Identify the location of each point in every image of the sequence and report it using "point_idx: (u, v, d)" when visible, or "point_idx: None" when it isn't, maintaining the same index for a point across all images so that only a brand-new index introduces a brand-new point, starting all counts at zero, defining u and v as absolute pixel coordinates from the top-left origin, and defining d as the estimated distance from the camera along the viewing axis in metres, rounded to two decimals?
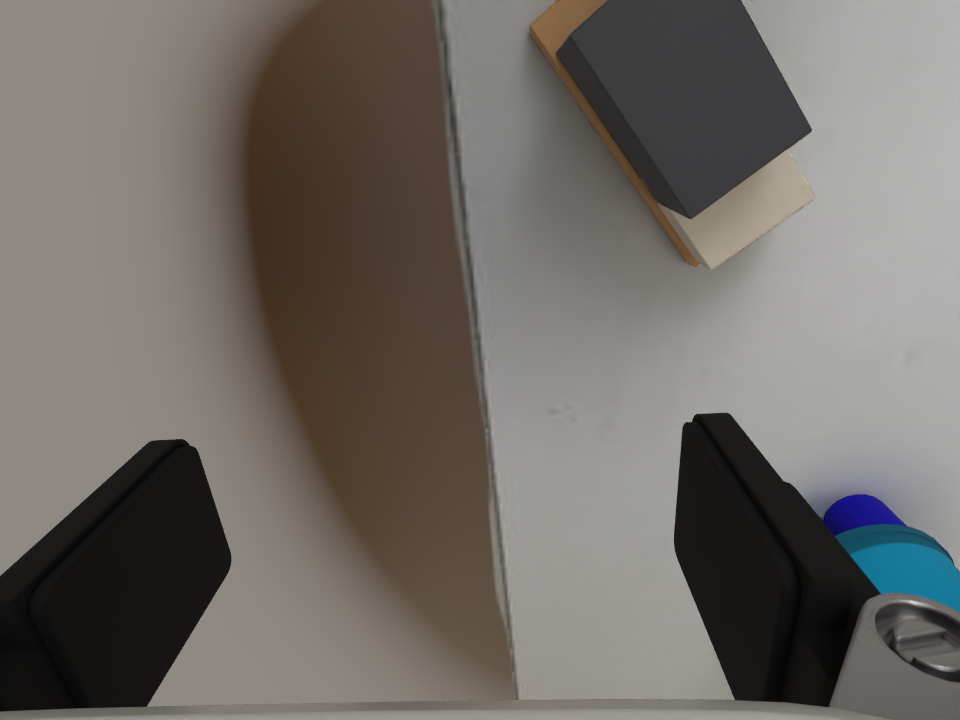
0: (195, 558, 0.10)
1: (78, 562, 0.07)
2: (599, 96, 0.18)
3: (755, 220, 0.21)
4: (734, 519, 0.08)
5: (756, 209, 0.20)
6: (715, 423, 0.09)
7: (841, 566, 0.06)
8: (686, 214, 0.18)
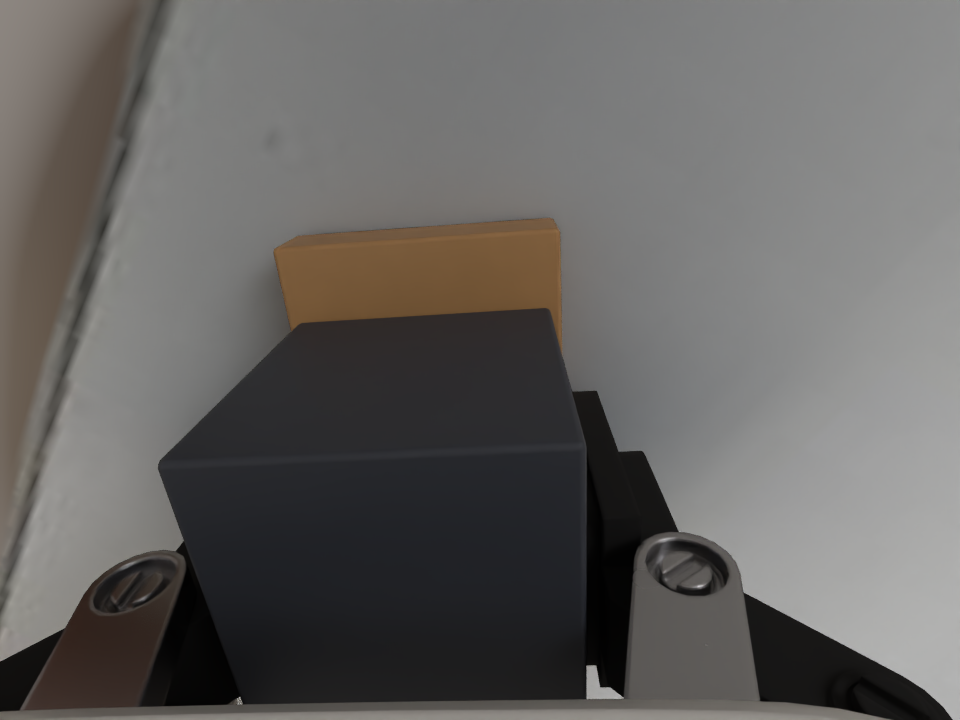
0: None
1: None
2: None
3: None
4: None
5: None
6: (580, 399, 0.10)
7: (631, 510, 0.07)
8: None
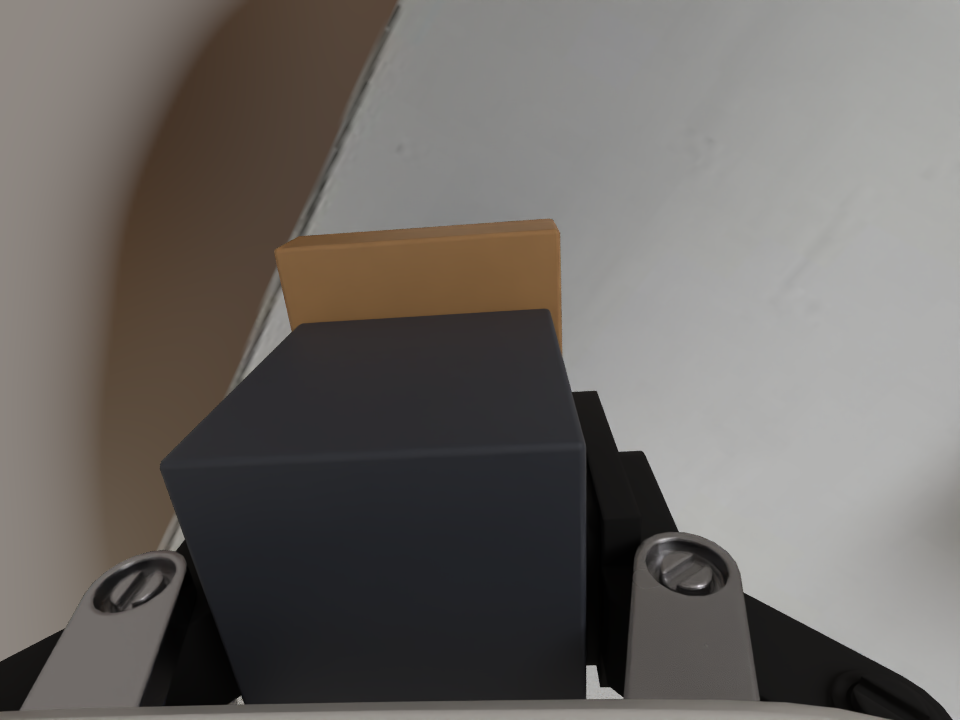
0: None
1: None
2: None
3: None
4: None
5: None
6: (580, 399, 0.10)
7: (632, 510, 0.07)
8: None
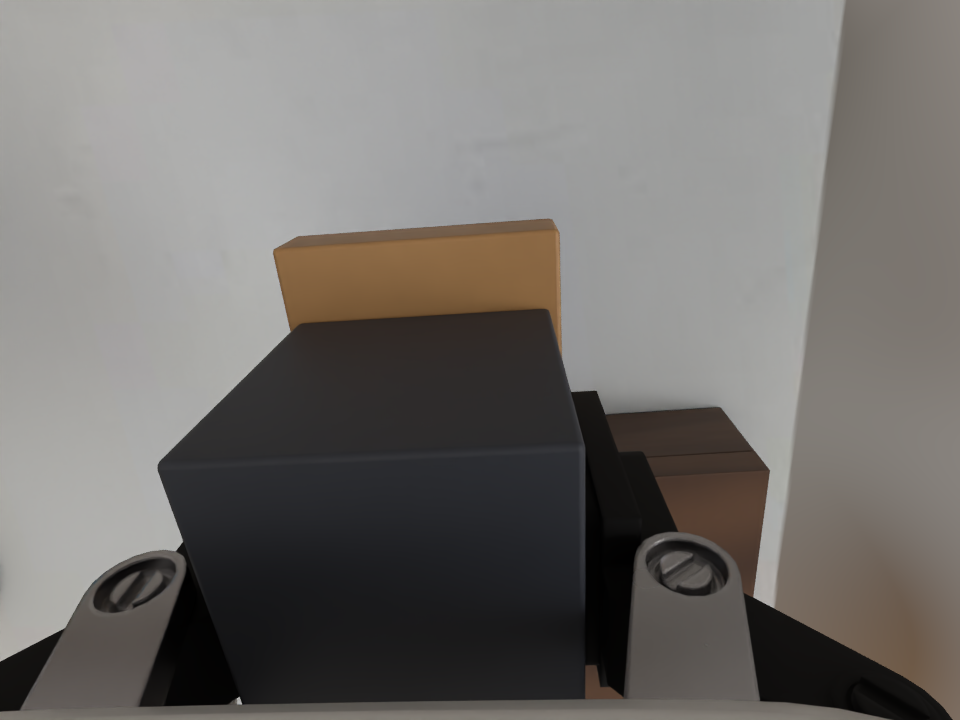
0: None
1: None
2: None
3: None
4: None
5: None
6: (580, 399, 0.10)
7: (632, 509, 0.07)
8: None
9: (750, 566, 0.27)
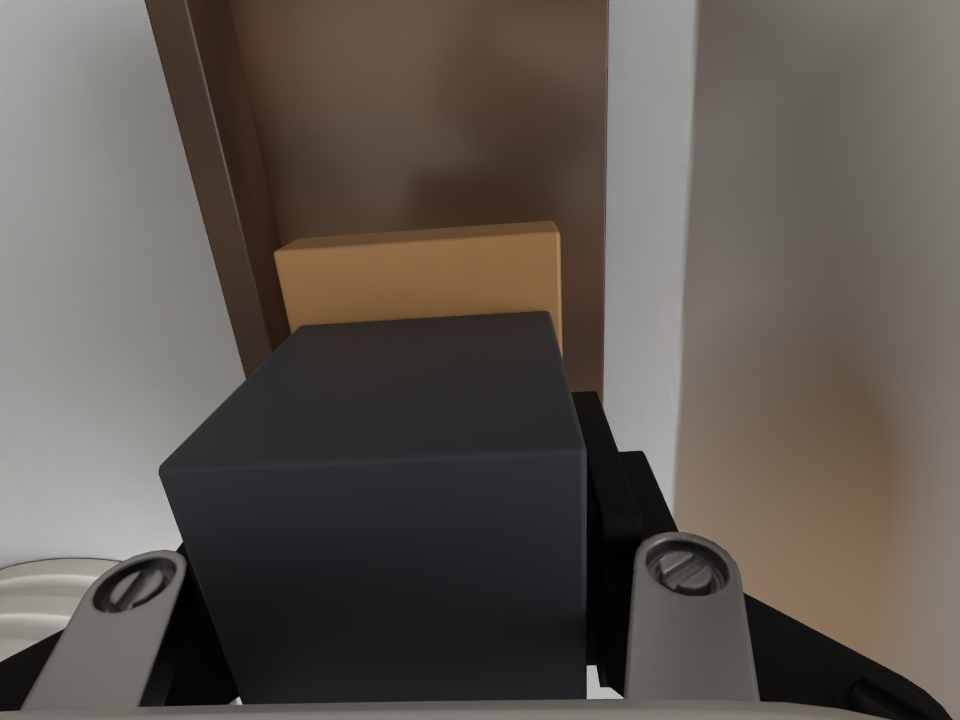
0: None
1: None
2: None
3: None
4: None
5: None
6: (580, 399, 0.10)
7: (632, 509, 0.07)
8: None
9: (594, 152, 0.16)
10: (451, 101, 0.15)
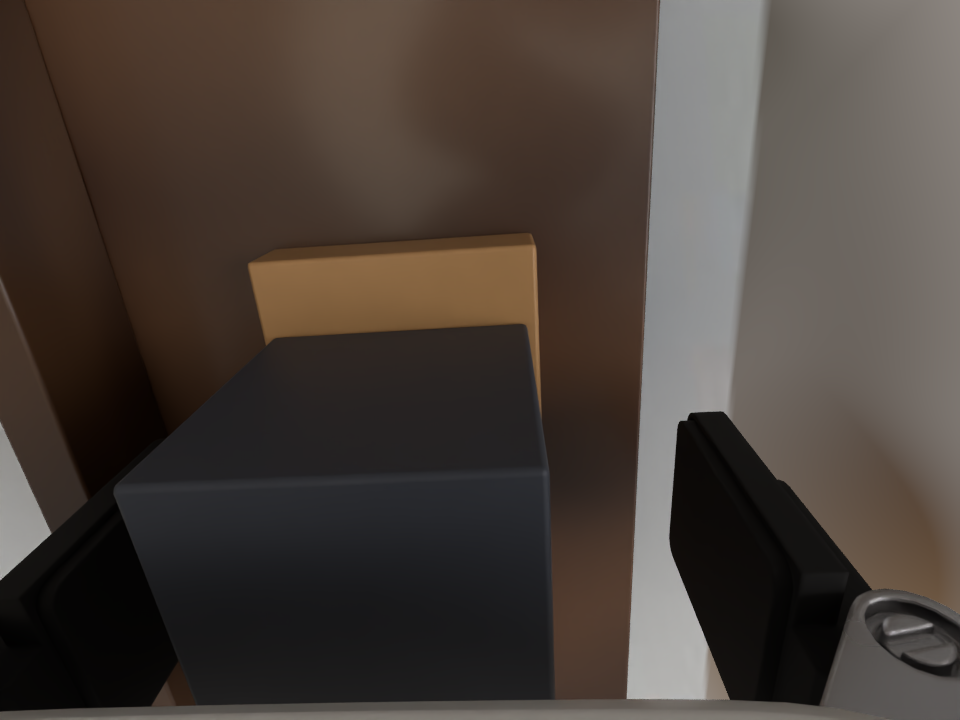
0: None
1: (86, 559, 0.07)
2: None
3: None
4: (727, 517, 0.08)
5: None
6: (710, 422, 0.09)
7: (833, 562, 0.06)
8: None
9: (631, 187, 0.10)
10: (392, 101, 0.09)
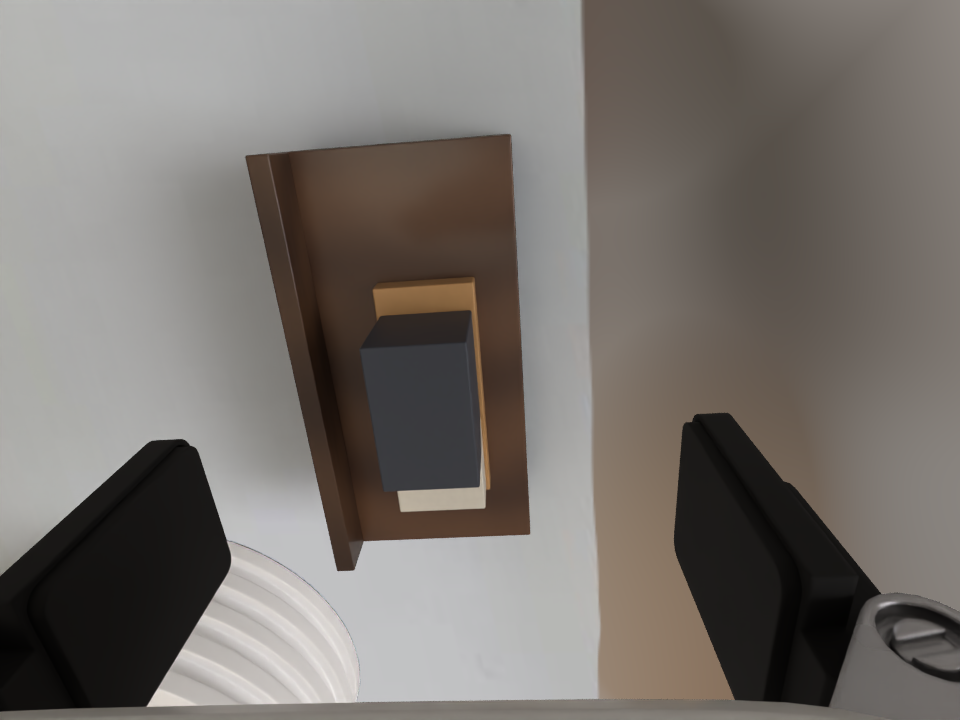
0: (195, 558, 0.10)
1: (78, 562, 0.07)
2: None
3: (442, 499, 0.28)
4: (734, 519, 0.08)
5: (446, 493, 0.28)
6: (715, 423, 0.09)
7: (841, 566, 0.06)
8: None
9: (509, 260, 0.26)
10: (423, 231, 0.26)
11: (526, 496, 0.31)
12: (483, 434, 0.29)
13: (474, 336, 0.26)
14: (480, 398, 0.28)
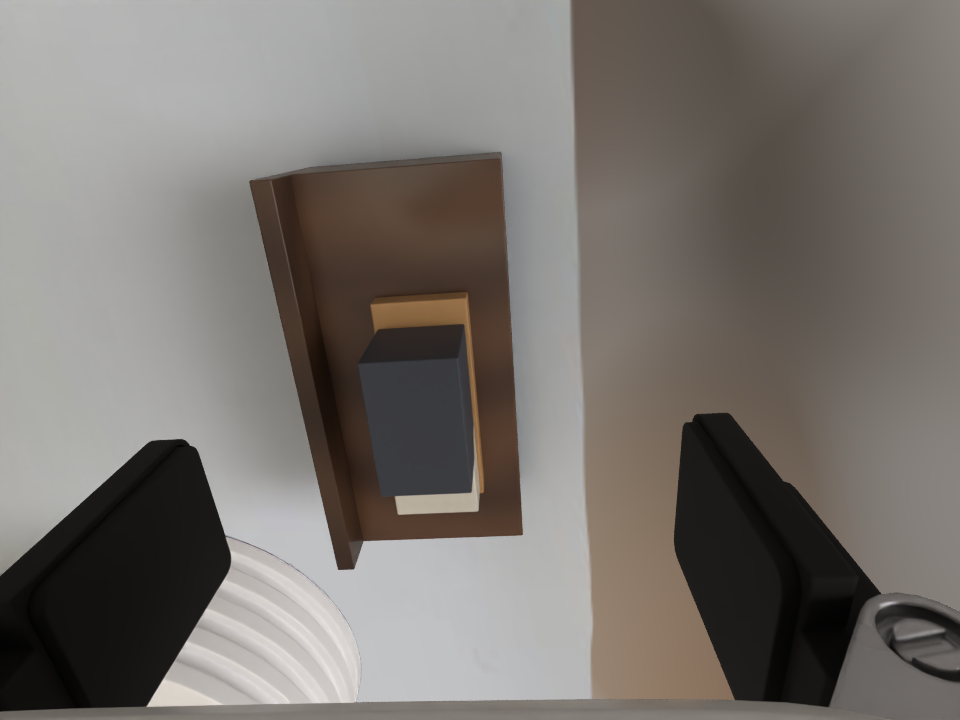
0: (195, 558, 0.10)
1: (78, 562, 0.07)
2: None
3: (437, 503, 0.29)
4: (734, 519, 0.08)
5: (441, 497, 0.29)
6: (715, 423, 0.09)
7: (842, 566, 0.06)
8: (380, 492, 0.26)
9: (501, 276, 0.28)
10: (418, 249, 0.27)
11: (518, 499, 0.33)
12: (476, 441, 0.30)
13: (467, 348, 0.28)
14: (473, 407, 0.29)
